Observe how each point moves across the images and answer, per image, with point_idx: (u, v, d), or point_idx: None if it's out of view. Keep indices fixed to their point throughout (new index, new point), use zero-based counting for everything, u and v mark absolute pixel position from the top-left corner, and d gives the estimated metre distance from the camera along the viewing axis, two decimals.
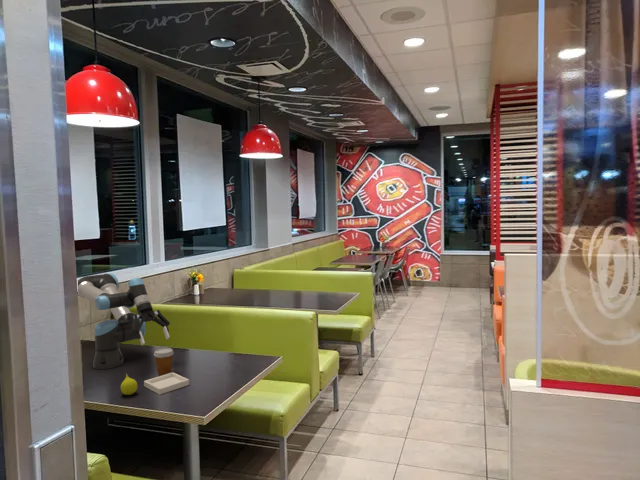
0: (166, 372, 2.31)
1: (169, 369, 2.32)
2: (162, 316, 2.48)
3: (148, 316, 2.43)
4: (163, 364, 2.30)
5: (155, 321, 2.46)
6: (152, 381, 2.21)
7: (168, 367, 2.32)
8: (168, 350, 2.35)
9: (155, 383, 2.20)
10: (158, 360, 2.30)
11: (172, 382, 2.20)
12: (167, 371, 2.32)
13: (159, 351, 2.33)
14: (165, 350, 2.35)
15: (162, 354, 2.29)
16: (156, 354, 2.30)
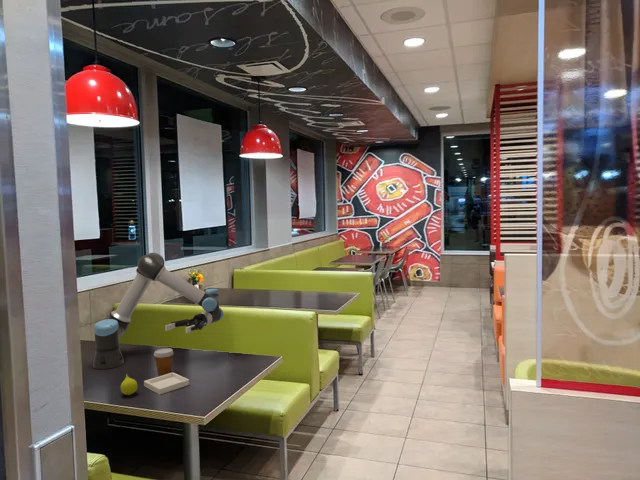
0: (166, 372, 2.31)
1: (169, 369, 2.32)
2: None
3: None
4: (163, 364, 2.30)
5: (184, 322, 2.53)
6: (152, 381, 2.21)
7: (168, 367, 2.32)
8: (168, 350, 2.35)
9: (155, 383, 2.20)
10: (158, 360, 2.30)
11: (172, 382, 2.20)
12: (167, 371, 2.32)
13: (159, 351, 2.33)
14: (165, 350, 2.35)
15: (162, 354, 2.29)
16: (156, 354, 2.30)
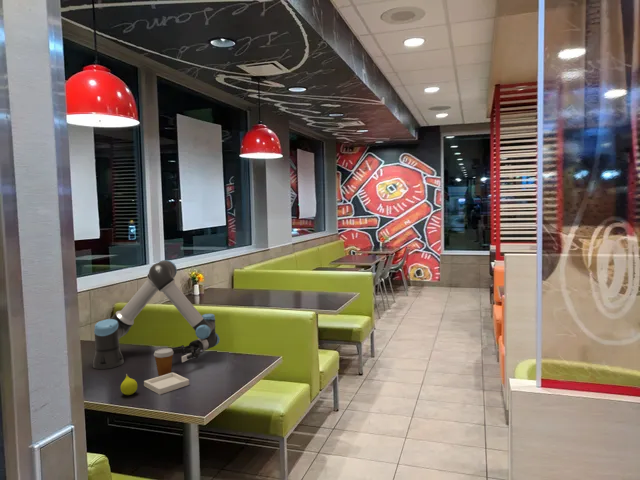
0: (166, 372, 2.31)
1: (169, 369, 2.32)
2: None
3: None
4: (163, 364, 2.30)
5: (180, 349, 2.49)
6: (152, 381, 2.21)
7: (168, 367, 2.32)
8: (168, 350, 2.35)
9: (155, 383, 2.20)
10: (158, 360, 2.30)
11: (172, 382, 2.20)
12: (167, 371, 2.32)
13: (159, 351, 2.33)
14: (165, 350, 2.35)
15: (162, 354, 2.29)
16: (156, 354, 2.30)
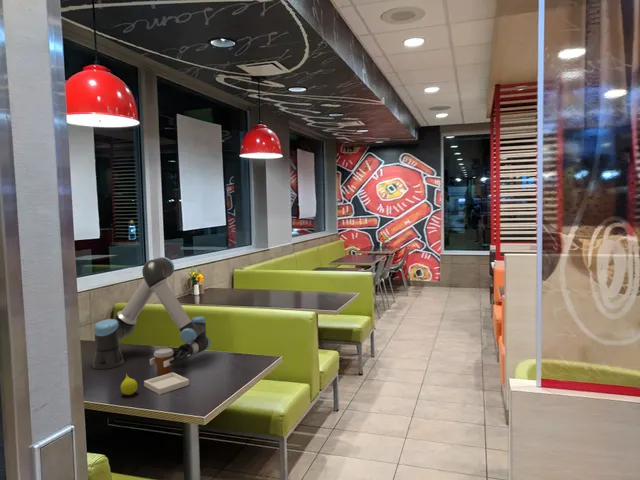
0: (166, 372, 2.31)
1: (169, 369, 2.32)
2: None
3: None
4: (163, 364, 2.30)
5: None
6: (152, 381, 2.21)
7: (168, 367, 2.32)
8: (168, 350, 2.35)
9: (155, 383, 2.20)
10: (158, 360, 2.30)
11: (172, 382, 2.20)
12: (167, 371, 2.32)
13: (159, 351, 2.33)
14: (165, 350, 2.35)
15: (162, 354, 2.29)
16: (156, 354, 2.30)
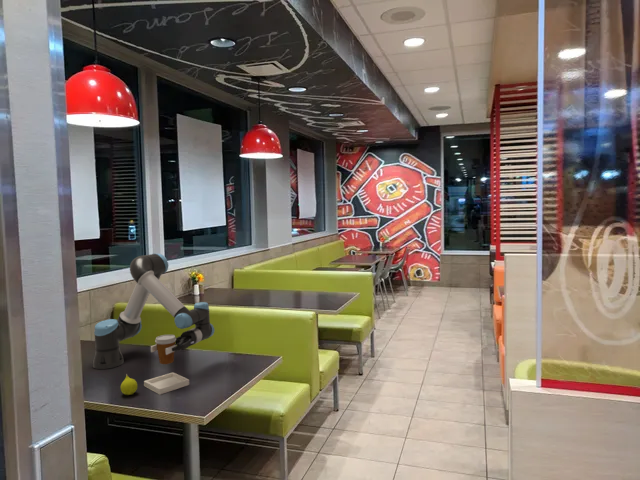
0: (168, 360, 2.16)
1: (171, 357, 2.17)
2: None
3: None
4: (165, 351, 2.15)
5: None
6: (152, 381, 2.21)
7: (170, 355, 2.16)
8: (170, 337, 2.19)
9: (155, 383, 2.20)
10: (160, 347, 2.14)
11: (172, 382, 2.20)
12: (169, 358, 2.16)
13: (161, 338, 2.18)
14: (167, 337, 2.19)
15: (164, 340, 2.14)
16: (157, 341, 2.14)
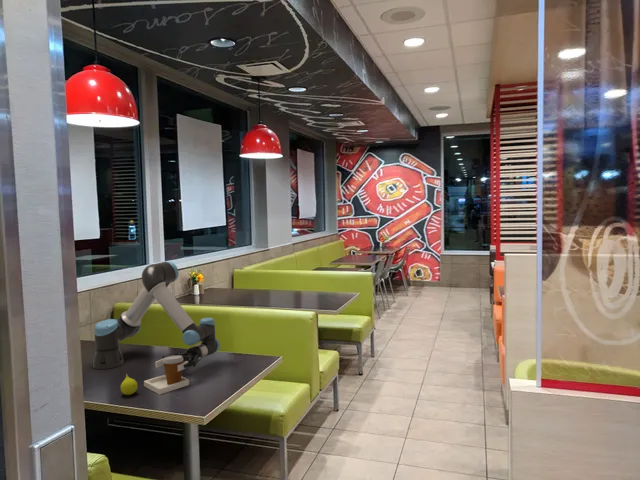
0: (176, 380, 2.16)
1: (179, 377, 2.18)
2: None
3: None
4: (173, 371, 2.15)
5: None
6: (152, 381, 2.21)
7: (178, 374, 2.17)
8: (178, 357, 2.21)
9: (155, 383, 2.20)
10: (168, 367, 2.15)
11: None
12: (177, 378, 2.17)
13: (168, 358, 2.19)
14: (174, 357, 2.21)
15: (171, 360, 2.15)
16: (165, 360, 2.16)
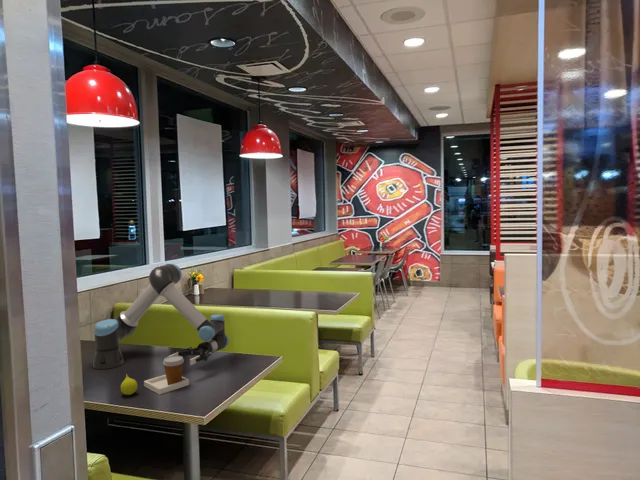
0: (177, 381, 2.16)
1: (180, 378, 2.17)
2: None
3: None
4: (174, 373, 2.15)
5: (188, 351, 2.38)
6: (152, 381, 2.21)
7: (179, 376, 2.17)
8: (178, 358, 2.20)
9: (155, 383, 2.20)
10: (168, 369, 2.15)
11: None
12: (177, 380, 2.16)
13: (168, 359, 2.18)
14: (175, 358, 2.20)
15: (172, 362, 2.14)
16: (166, 363, 2.14)
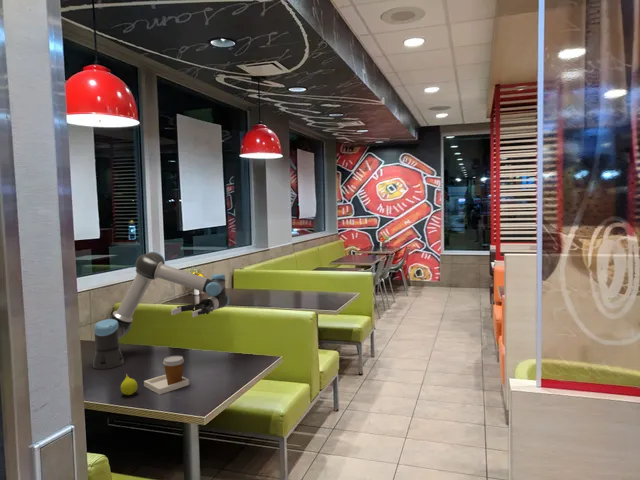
0: (177, 381, 2.16)
1: (180, 378, 2.17)
2: None
3: None
4: (174, 372, 2.15)
5: (190, 307, 2.47)
6: (152, 381, 2.21)
7: (179, 376, 2.17)
8: (178, 358, 2.20)
9: (155, 383, 2.20)
10: (168, 369, 2.15)
11: None
12: (177, 380, 2.17)
13: (168, 359, 2.18)
14: (175, 358, 2.20)
15: (172, 362, 2.14)
16: (166, 362, 2.14)
